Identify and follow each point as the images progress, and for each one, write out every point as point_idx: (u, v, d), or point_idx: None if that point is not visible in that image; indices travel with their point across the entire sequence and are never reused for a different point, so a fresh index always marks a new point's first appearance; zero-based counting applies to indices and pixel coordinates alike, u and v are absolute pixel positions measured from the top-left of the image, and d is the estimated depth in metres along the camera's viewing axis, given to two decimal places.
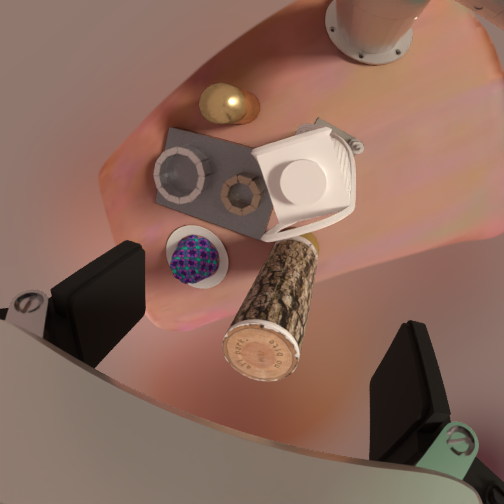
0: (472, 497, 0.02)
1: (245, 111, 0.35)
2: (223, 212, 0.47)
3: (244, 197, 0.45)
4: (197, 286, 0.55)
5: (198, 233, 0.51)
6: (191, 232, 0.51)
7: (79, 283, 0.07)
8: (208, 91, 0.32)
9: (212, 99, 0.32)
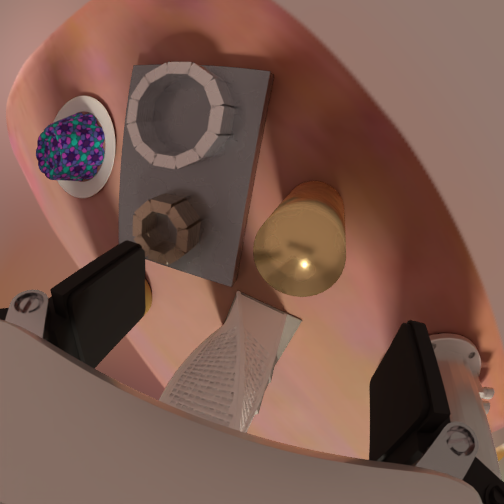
0: (472, 497, 0.02)
1: None
2: (138, 190, 0.27)
3: (165, 223, 0.28)
4: None
5: (108, 142, 0.28)
6: (106, 131, 0.27)
7: (79, 283, 0.07)
8: (327, 232, 0.15)
9: (308, 242, 0.16)
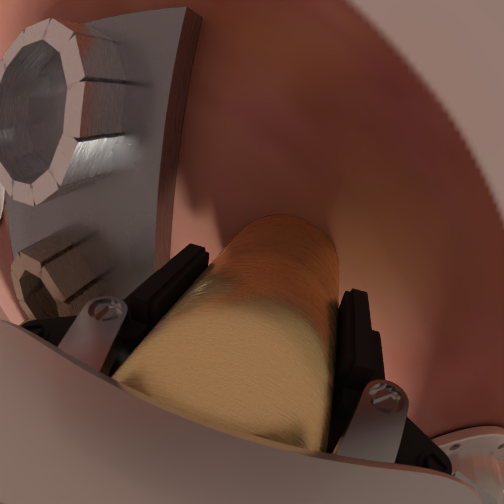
0: (472, 497, 0.02)
1: None
2: (24, 228, 0.15)
3: None
4: None
5: None
6: None
7: (160, 288, 0.08)
8: None
9: None
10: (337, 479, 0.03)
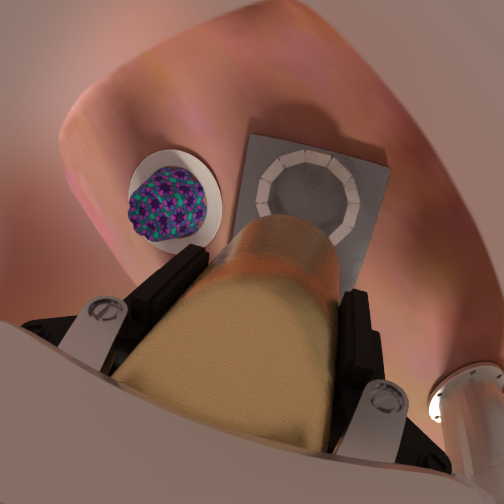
0: (472, 497, 0.02)
1: None
2: None
3: None
4: None
5: (209, 197, 0.31)
6: (206, 186, 0.31)
7: (159, 288, 0.08)
8: None
9: None
10: (337, 479, 0.03)
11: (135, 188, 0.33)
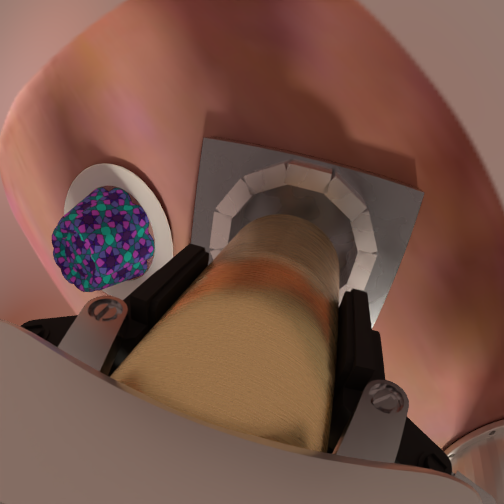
0: (472, 497, 0.02)
1: None
2: None
3: None
4: None
5: (156, 226, 0.22)
6: (149, 211, 0.21)
7: (160, 288, 0.08)
8: None
9: None
10: (337, 479, 0.03)
11: None
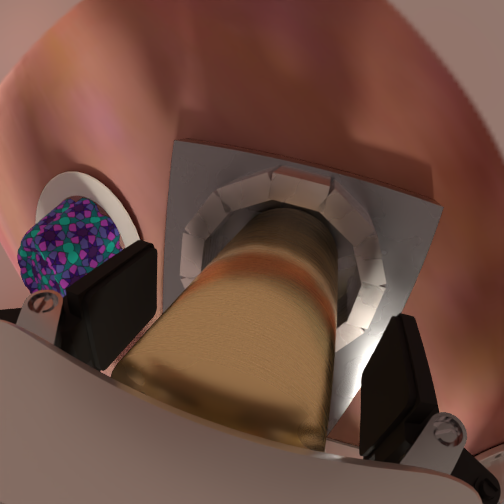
0: (472, 497, 0.02)
1: None
2: None
3: None
4: None
5: (127, 239, 0.19)
6: (119, 222, 0.18)
7: (94, 282, 0.07)
8: (276, 415, 0.05)
9: (225, 422, 0.05)
10: (337, 479, 0.03)
11: None
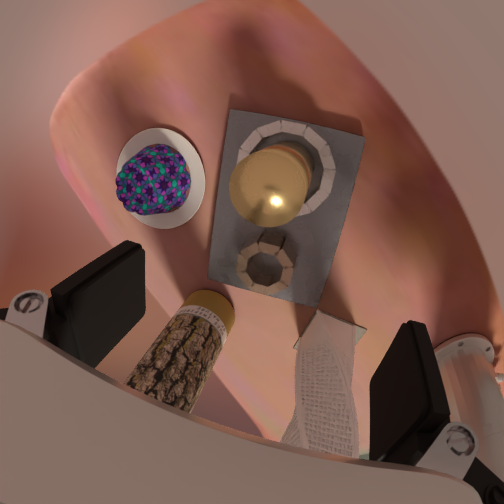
0: (472, 497, 0.02)
1: None
2: (234, 228, 0.32)
3: (261, 258, 0.33)
4: None
5: (191, 164, 0.32)
6: (186, 155, 0.31)
7: (79, 283, 0.07)
8: (289, 170, 0.18)
9: (273, 178, 0.19)
10: (337, 479, 0.03)
11: None
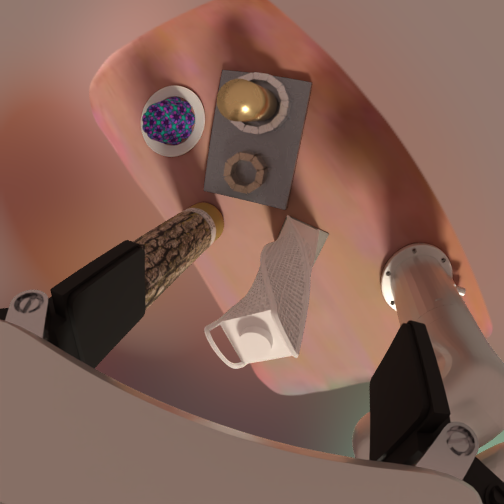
0: (472, 497, 0.02)
1: None
2: (224, 149, 0.43)
3: (242, 170, 0.44)
4: (146, 139, 0.47)
5: (195, 107, 0.43)
6: (191, 101, 0.43)
7: (79, 283, 0.07)
8: (250, 87, 0.29)
9: (242, 93, 0.30)
10: (337, 479, 0.03)
11: None
